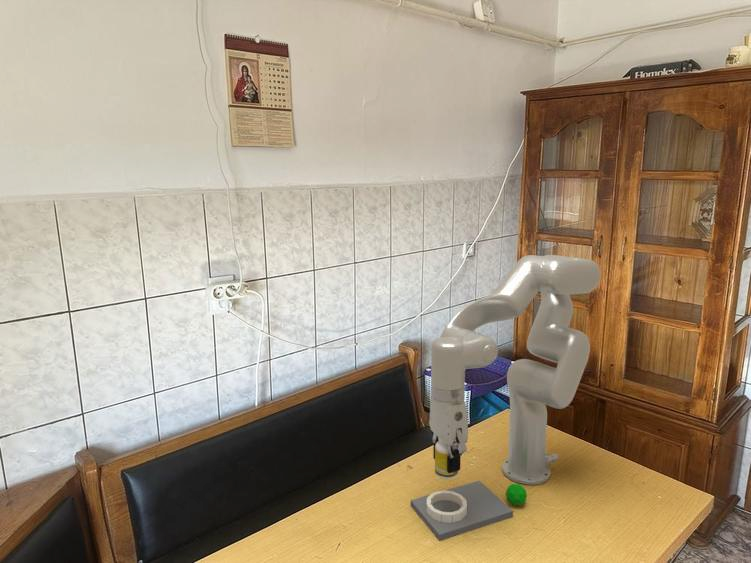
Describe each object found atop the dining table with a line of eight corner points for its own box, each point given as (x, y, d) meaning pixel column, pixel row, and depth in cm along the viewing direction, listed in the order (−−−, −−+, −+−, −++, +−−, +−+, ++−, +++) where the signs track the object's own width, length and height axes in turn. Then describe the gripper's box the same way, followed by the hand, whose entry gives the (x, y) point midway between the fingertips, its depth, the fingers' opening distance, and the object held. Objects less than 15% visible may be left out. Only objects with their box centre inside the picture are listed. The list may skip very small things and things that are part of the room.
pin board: (479, 485, 139) (479, 473, 138) (512, 516, 127) (513, 503, 126) (410, 505, 132) (410, 492, 131) (439, 540, 119) (439, 526, 118)
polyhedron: (503, 497, 134) (503, 480, 133) (522, 496, 134) (522, 479, 133) (509, 510, 129) (510, 492, 128) (529, 508, 130) (530, 491, 129)
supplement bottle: (457, 481, 122) (458, 441, 120) (433, 478, 123) (433, 439, 121) (458, 468, 127) (459, 430, 125) (435, 466, 128) (436, 428, 126)
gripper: (483, 403, 115) (481, 479, 118) (442, 376, 130) (441, 444, 134) (453, 409, 112) (451, 487, 116) (415, 381, 127) (415, 451, 131)
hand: (446, 463), depth 125 cm, fingers closed on supplement bottle, 5 cm apart
